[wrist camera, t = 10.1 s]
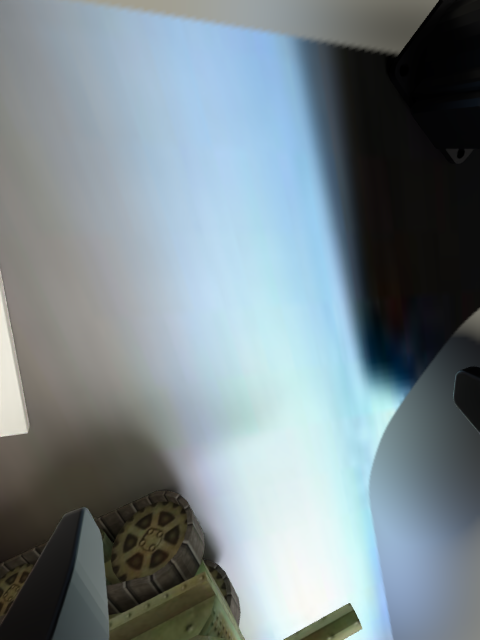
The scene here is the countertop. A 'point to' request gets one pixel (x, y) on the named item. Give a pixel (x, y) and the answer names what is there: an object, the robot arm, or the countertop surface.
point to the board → (10, 378)
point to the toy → (165, 579)
